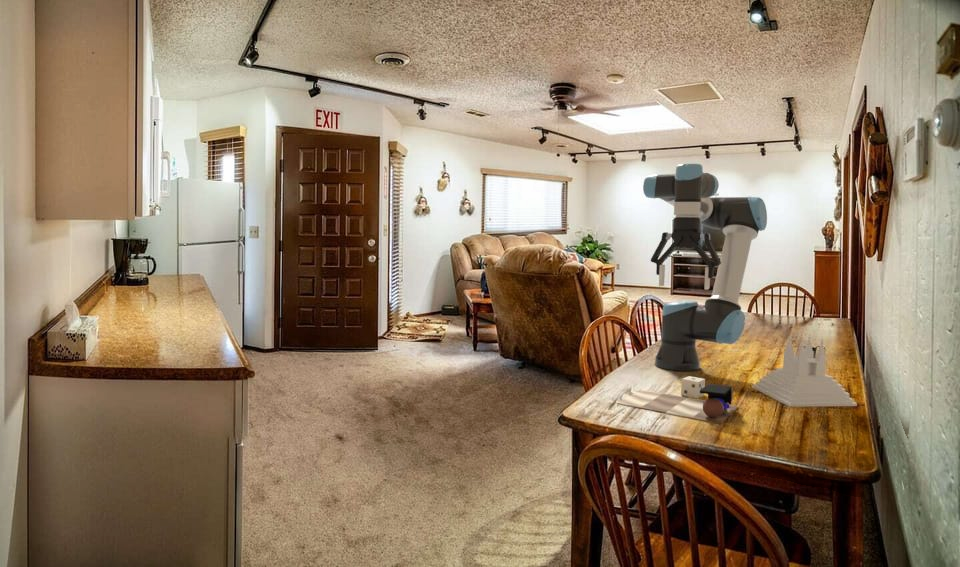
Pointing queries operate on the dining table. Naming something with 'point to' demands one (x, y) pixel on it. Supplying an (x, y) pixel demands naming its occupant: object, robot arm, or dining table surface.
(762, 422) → the dining table surface
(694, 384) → the die
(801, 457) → the dining table surface
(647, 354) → the dining table surface
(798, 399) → the castle model
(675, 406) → the board
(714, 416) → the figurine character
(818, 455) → the dining table surface
